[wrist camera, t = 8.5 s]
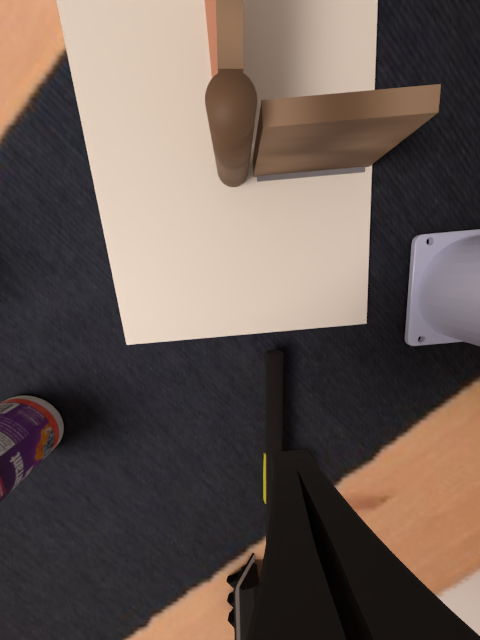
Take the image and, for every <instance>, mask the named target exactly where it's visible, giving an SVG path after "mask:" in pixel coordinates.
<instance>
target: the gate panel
mask: <svg viewBox="0 0 480 640" xmlns="http://www.w3.org/2000/svg"><path fill="white" fill-rule="evenodd" d="M216 25H217V61H218V73H219V72H221V71H223V70H227V69H234V70H238V71H241V72H243V71H244V60H243V0H216Z"/></svg>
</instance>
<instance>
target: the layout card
mask: <svg viewBox="0 0 480 640" xmlns="http://www.w3.org/2000/svg"><path fill="white" fill-rule="evenodd" d="M56 1H57V6H58V11H59V15H60V20H61V25H62V30H63V35H64V40H65V45H66V50H67V55H68V60H69V65H70V69H71V74H72V79H73V84H74V89H75V94H76V99H77V104H78V109H79V114H80V119H81V123H82V128H83V133H84V138H85V143H86V148H87V153H88V158H89V163H90V168H91V173H92V177H93V182H94V187H95V192H96V197H97V202H98V207H99V212H100V217H101V222H102V226H103V231H104V236H105V241H106V246H107V251H108V256H109V261H110V266H111V271H112V276H113V280H114V285H115V290H116V295H117V300H118V305H119V310H120V315H121V320H122V325H123V330H124V334H125V339H126V344H127V345H131V344H143V343H154V342H165V341H176V340H188V339H199V338H210V337H222V336H233V335H244V334H255V333H267V332H278V331H289V330H300V329H312V328H323V327H334V326H346V325H357V324H367V297H368V268H369V239H370V211H371V182H372V165H371V166H369V167H353V168H342V169H331V170H319V171H308V172H297V173H285V174H274V175H263V176H257V177H254V174H253V153H254V146H255V140H256V133H257V127H258V120H259V113H260V107H261V100H267V99H278V98H290V97H301V96H312V95H324V94H335V93H347V92H358V91H369V90H375V66H376V38H377V9H378V0H243V60H244V71H243V73H244V74H245V75H247V76H248V77H249V79H250V80H251V81H252V83H253V85H254V87H255V90H256V93H257V109H256V117H255V125H254V132H253V140H252V148H251V156H250V163H249V171H248V176H247V179H246V180H245V182H244V183H243V184H241V185H240V186H238V187H229V186H226V185H225V184H224V183H222V181H221V180H220V178H219V176H218V172H217V166H216V161H215V155H214V150H213V144H212V139H211V133H210V128H209V122H208V117H207V111H206V106H205V93H206V89H207V86H208V84H209V82H210V80H211V79H212V78H213V77H214V76H215V75H216V74H217V73H218V61H217V25H216V0H56Z"/></svg>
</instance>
